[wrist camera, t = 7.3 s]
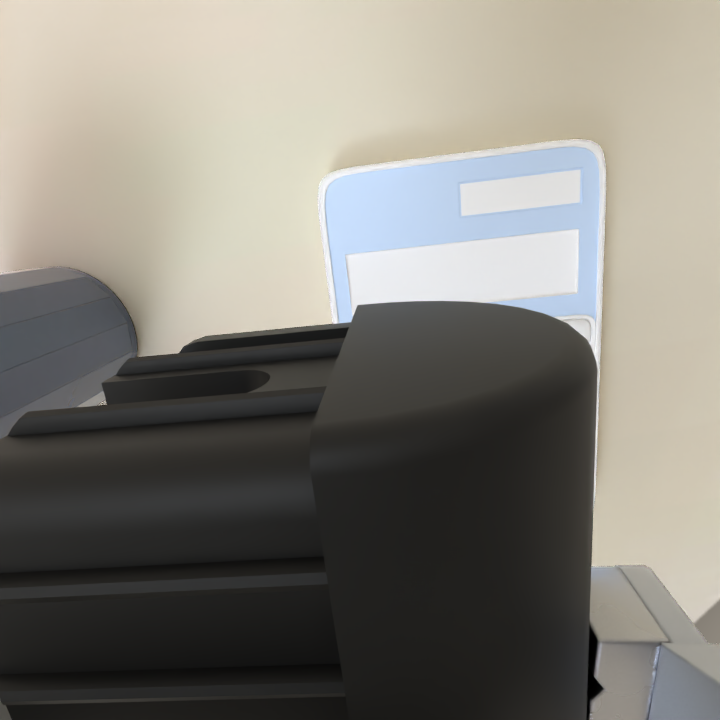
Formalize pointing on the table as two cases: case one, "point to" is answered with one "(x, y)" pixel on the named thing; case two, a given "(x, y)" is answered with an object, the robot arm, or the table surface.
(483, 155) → the calculator
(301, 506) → the end cap
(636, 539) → the table surface
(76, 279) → the pen cup
